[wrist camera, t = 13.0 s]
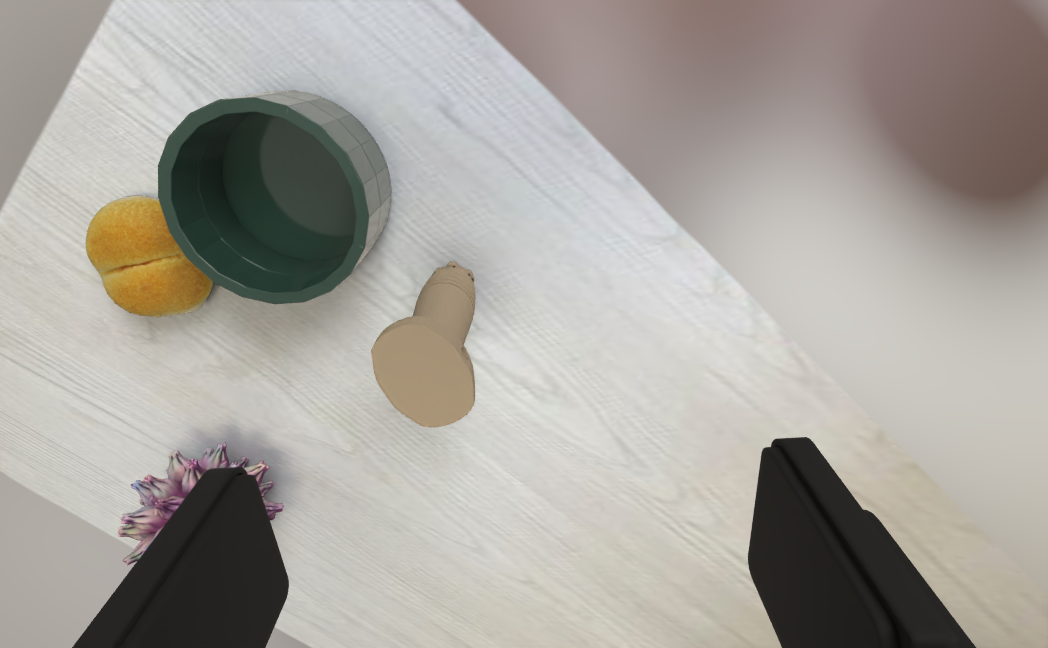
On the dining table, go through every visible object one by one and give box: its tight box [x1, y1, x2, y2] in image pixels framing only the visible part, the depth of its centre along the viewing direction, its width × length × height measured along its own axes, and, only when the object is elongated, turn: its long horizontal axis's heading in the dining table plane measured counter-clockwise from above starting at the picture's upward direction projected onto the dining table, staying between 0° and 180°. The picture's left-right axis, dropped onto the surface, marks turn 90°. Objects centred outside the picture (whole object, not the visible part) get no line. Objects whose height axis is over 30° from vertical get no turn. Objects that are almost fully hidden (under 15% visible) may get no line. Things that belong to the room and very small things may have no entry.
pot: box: [158, 90, 391, 304], centre depth 39 cm, size 13×13×7 cm
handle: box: [371, 262, 475, 427], centre depth 38 cm, size 5×6×15 cm
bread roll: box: [86, 196, 213, 317], centre depth 42 cm, size 8×9×4 cm
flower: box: [118, 442, 284, 565], centre depth 48 cm, size 12×12×12 cm
